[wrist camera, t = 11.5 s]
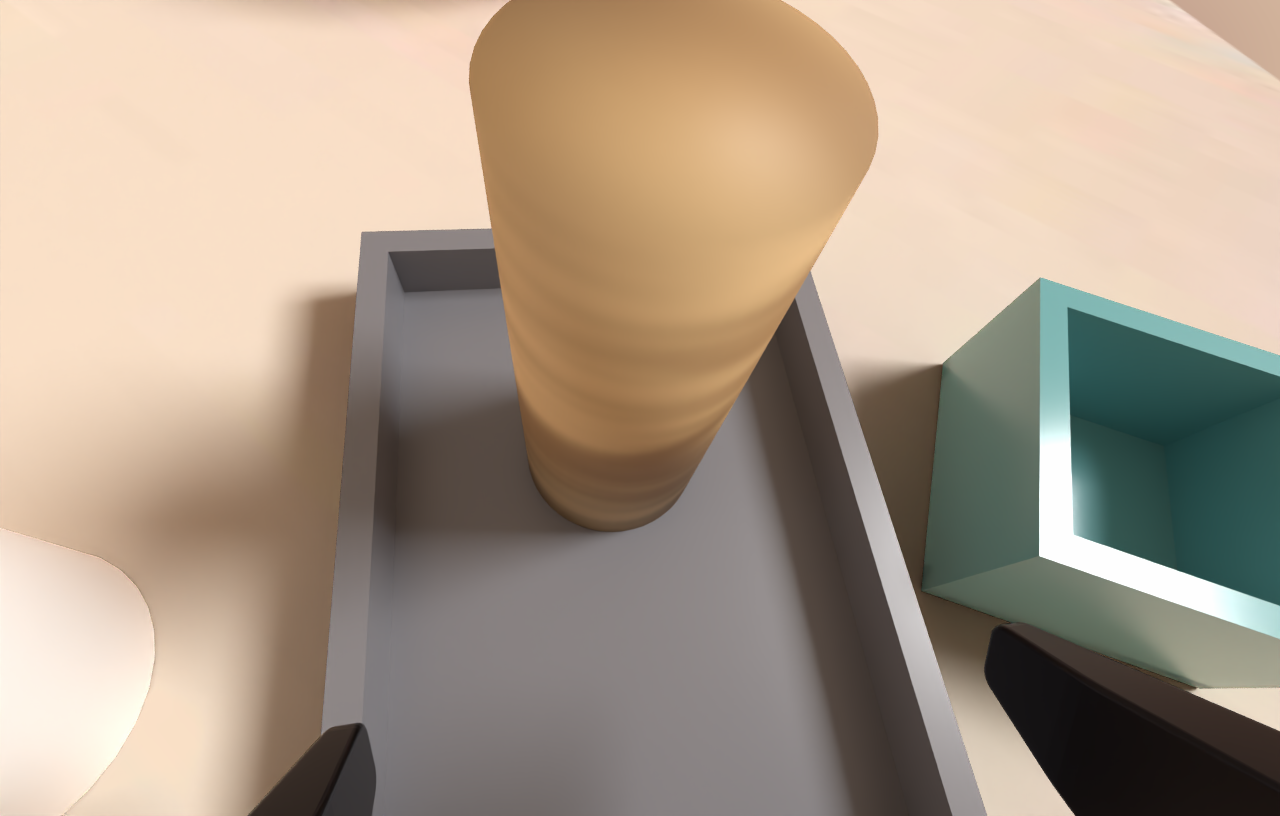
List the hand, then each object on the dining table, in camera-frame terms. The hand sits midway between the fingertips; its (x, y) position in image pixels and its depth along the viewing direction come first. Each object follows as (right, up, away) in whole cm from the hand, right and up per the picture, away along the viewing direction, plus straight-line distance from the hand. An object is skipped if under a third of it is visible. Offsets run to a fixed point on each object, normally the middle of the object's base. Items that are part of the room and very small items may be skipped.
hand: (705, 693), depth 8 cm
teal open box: (+13, +1, +11) cm, 17 cm away
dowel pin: (-2, +3, +10) cm, 10 cm away
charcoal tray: (-1, 0, +9) cm, 9 cm away
